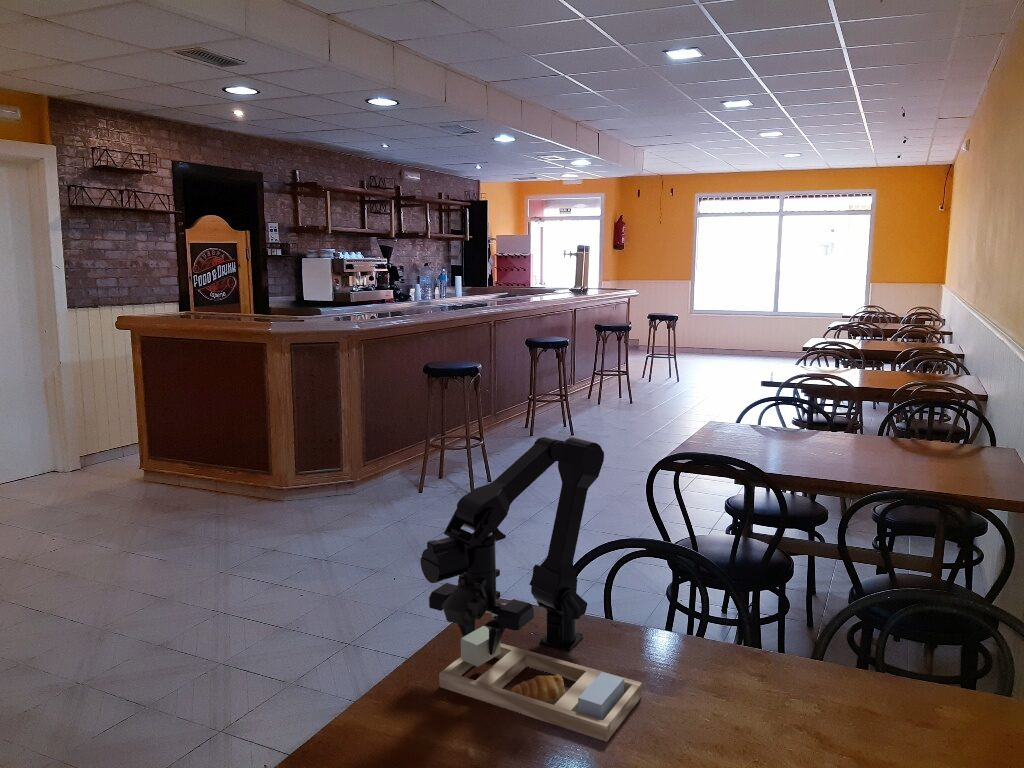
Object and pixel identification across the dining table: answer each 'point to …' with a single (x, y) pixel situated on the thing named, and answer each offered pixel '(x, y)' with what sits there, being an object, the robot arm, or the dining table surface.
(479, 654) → the block
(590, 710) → the wing block
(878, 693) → the dining table surface
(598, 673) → the frame
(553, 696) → the pastry
